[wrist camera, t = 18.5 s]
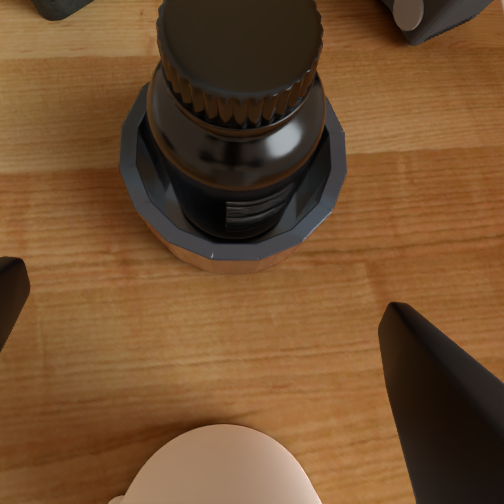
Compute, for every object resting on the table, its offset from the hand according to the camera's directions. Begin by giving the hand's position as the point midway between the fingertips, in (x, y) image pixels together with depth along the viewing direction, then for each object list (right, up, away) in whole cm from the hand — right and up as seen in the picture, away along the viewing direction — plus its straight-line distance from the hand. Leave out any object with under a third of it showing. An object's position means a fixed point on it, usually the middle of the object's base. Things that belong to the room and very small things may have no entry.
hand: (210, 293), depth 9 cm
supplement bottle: (0, +5, +13) cm, 14 cm away
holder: (0, +5, +14) cm, 14 cm away
